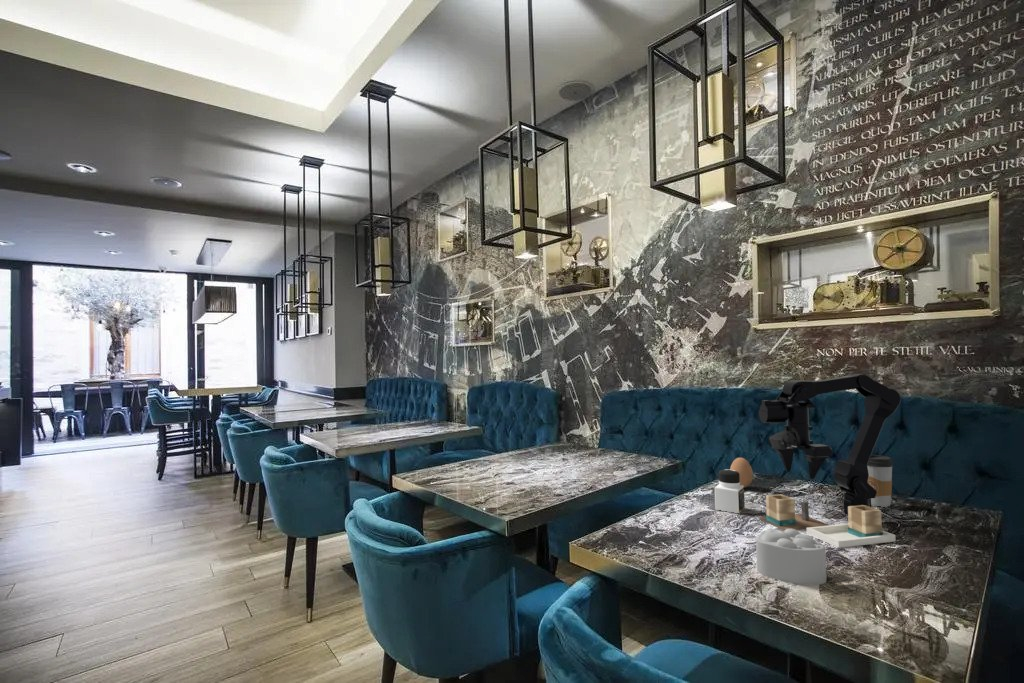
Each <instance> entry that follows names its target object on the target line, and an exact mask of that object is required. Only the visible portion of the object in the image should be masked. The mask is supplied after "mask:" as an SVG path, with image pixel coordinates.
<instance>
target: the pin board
mask: <svg viewBox="0 0 1024 683" xmlns="http://www.w3.org/2000/svg"><path fill="white" fill-rule="evenodd" d="M809 507H810V506H809V502H807V501H801V513H795V519H796V525H788V526H778V525H776V524H773V523H771V522H769V521H767V520H766V516H764V517H762V516H761V517H759V518H758V519H759V520H760V521H762V522H765V523H767V524H768V525H771V526H774V527H775V528H776V529H777V528H778V529H780V530H781V531H784V530H786V529H795V530H797V531H799V530H807V529H806V528H808V527H818V526H828V525H829V524H827V523H826V522H823V521H821V520H818V519H815V518H813V517H810V516H809V515H810V512H809V510H810V509H809Z"/></svg>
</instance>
